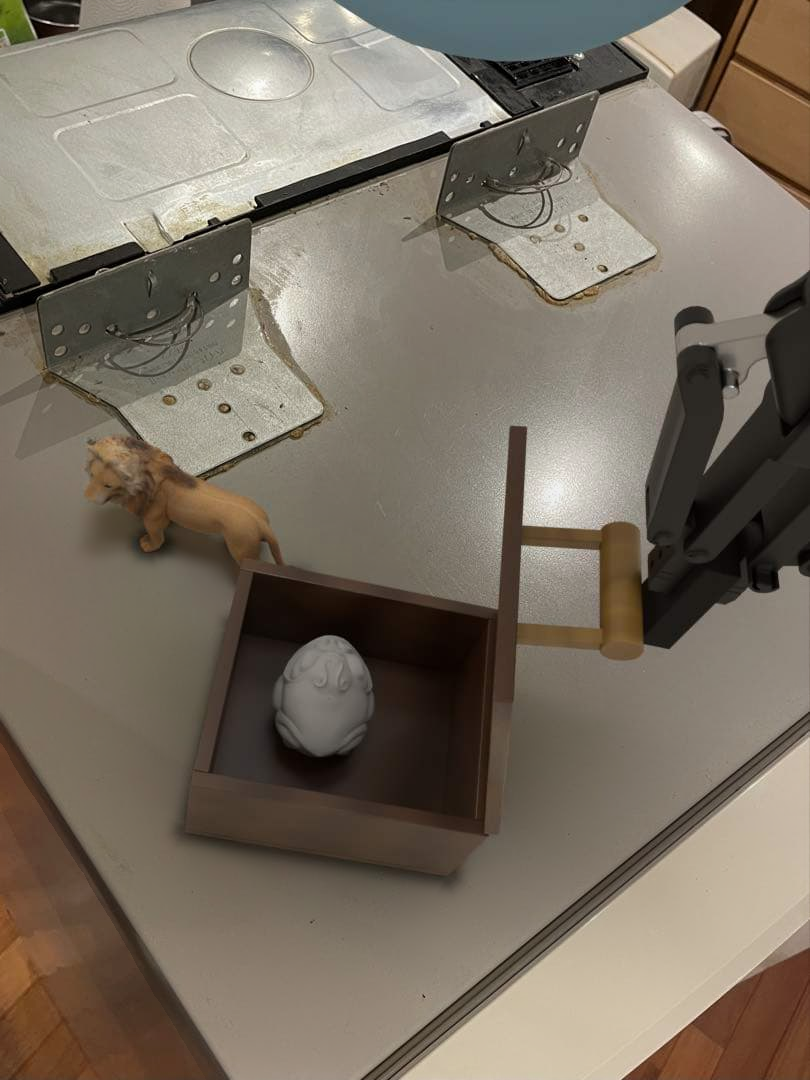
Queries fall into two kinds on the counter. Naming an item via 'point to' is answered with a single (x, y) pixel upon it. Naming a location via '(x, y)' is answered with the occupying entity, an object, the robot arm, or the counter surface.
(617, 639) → the chest lid
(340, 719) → the frog figurine
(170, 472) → the lion figurine
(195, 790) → the chest
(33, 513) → the counter surface
